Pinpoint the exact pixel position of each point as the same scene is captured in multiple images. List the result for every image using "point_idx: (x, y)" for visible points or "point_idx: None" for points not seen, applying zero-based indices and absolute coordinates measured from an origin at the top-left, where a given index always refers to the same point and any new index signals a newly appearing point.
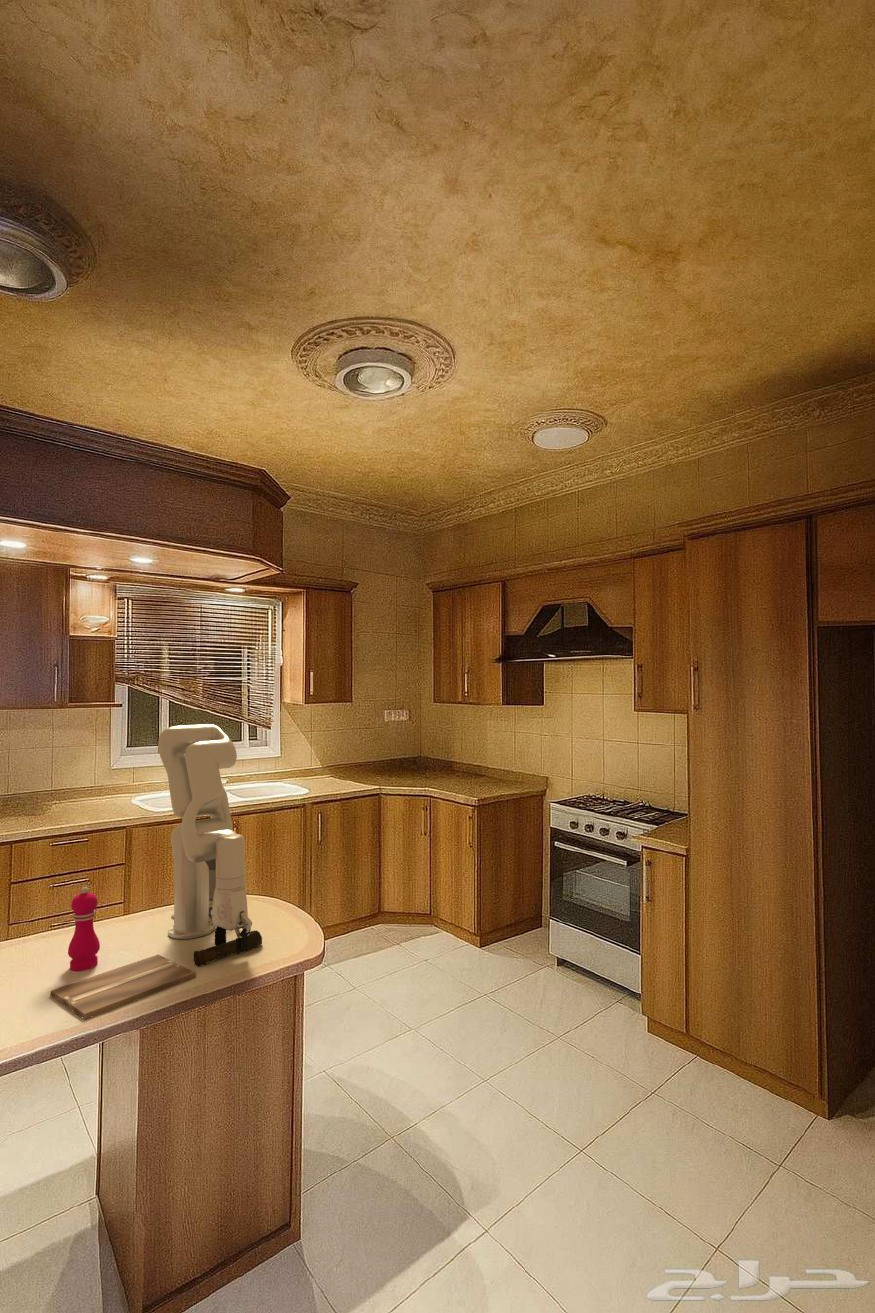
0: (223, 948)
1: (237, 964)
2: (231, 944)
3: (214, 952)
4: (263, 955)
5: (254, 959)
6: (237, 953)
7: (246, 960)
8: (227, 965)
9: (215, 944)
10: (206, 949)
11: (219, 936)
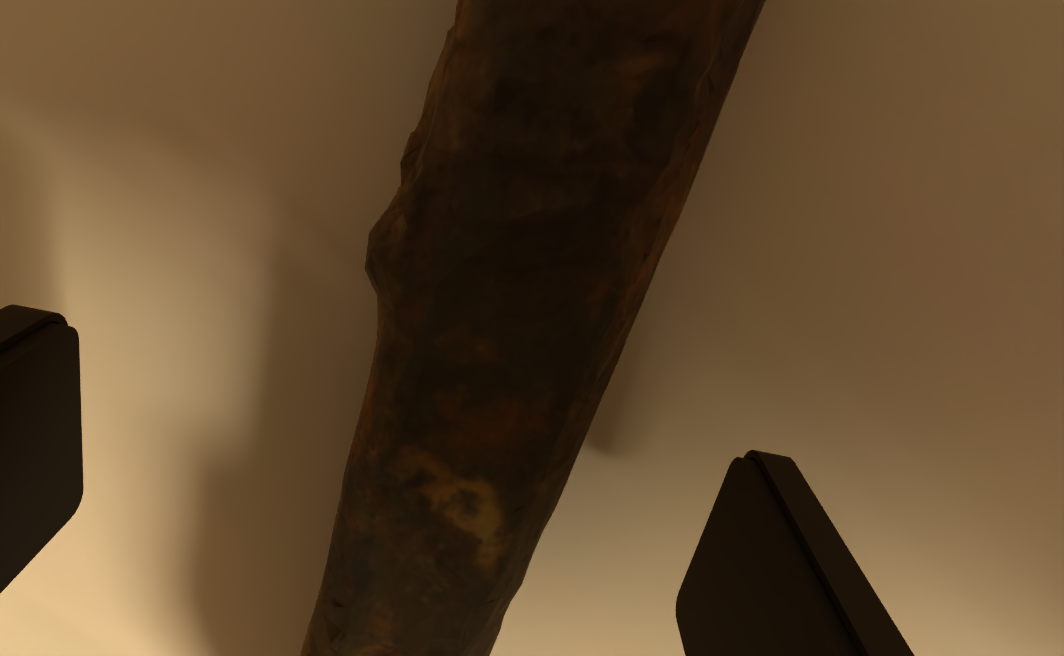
0: (384, 326)
1: (46, 200)
2: (354, 508)
3: (435, 104)
4: (32, 577)
5: None
6: (8, 311)
7: None
8: (151, 93)
9: (767, 458)
10: (628, 12)
11: (761, 618)
